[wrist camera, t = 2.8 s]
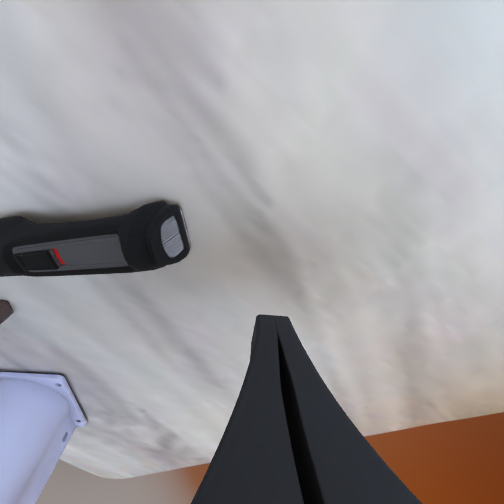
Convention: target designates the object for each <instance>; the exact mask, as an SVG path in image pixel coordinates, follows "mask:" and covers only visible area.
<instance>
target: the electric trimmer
mask: <svg viewBox="0 0 504 504" xmlns="http://www.w3.org/2000/svg"><path fill="white" fill-rule="evenodd" d="M181 211H182V209H180V207H179V206H177V205H168V204H167V203H166V202H164V201H160V202H155V203H149V204H146V205H144V206H142V207H140V208H138V209H136V210H135V211H133V212H131V213H129V214H126V215H123V216H116V217H110V218H103V219H95V220H87V221H78V222H69V223H53V224H36V223H34V222H31V221H29V220H27V219H25V218H22V217H18V216H14V217H8V218H2V219H0V277H2V276H22V275H24V276H36V277H38V276H67V275H89V274H112V273H132V272H140V271H148V270H155V269H158V268H161V267H164V266H166V265H170V264H174V263H177V262H179V261H181V260H182V259H184V258H185V257H186V256H187V255H188V254H189V251H190V244H189V243H190V241H189V237H188V235H187V234H188V233H187V228H185V224H184V223H185V221H184V219H183V214H182V212H181Z"/></svg>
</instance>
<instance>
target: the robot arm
mask: <svg viewBox="0 0 504 504" xmlns="http://www.w3.org/2000/svg"><path fill="white" fill-rule="evenodd" d="M86 424H87V421H86V419H85V417H84V415H83V413H82V411H81V409H80V407H79V405H78V403H77V401H76V399H75V397H74V395H73V393H72V391H71V389H70V387H69V385H68V383H67V382H66V380H65V378H64V377H63V376H61V375H52V374H33V373H13V372H0V504H35V503H36V501H37V500H38V498H39V496H40V495H41V493H42V491H43V489H44V487H45V485H46V483H47V481H48V479H49V477H50V475H51V473H52V472H53V470H54V468H55V466H56V464H57V462H58V460H59V458H60V456H61V455H62V453H63V451H64V449H65V447H66V445H67V443H68V441H69V439H70V437H71V435H72V433H73V432H74V430H75V428H76V427H85V426H86ZM191 504H422V503H421V502H420V501H419V500H418V499H417V498H416V496H415V495H414V494H412V492H411V491H410V490H409V489H408V488H407V487H406V486H405V485H404V483H403V482H402V481H401V480H400V479H399V478H398V477H397V476H396V475H395V473H394V472H393V471H392V470H391V469H390V468H389V467H388V466H387V465H386V463H385V462H384V461H383V460H382V458H381V457H380V456H379V455H378V454H377V452H376V451H375V450H374V449H373V448H372V446H371V445H370V444H369V443H368V442H367V440H366V439H365V438H364V437H363V436H362V434H361V433H360V432H359V430H358V429H357V428H356V427H355V425H354V424H353V423H352V421H351V420H350V419H349V417H348V416H347V415H346V413H345V412H344V411H343V409H342V408H341V406H340V405H339V404H338V402H337V401H336V399H335V398H334V397H333V395H332V394H331V392H330V391H329V389H328V388H327V386H326V384H325V383H324V381H323V380H322V378H321V377H320V375H319V373H318V372H317V370H316V369H315V367H314V365H313V363H312V362H311V360H310V358H309V356H308V355H307V353H306V351H305V349H304V347H303V346H302V344H301V342H300V340H299V338H298V336H297V334H296V332H295V330H294V328H293V326H292V323H291V321H290V319H289V318H288V317H286V316H273V315H258V316H256V322H255V327H254V332H253V337H252V342H251V356H250V363H249V366H248V370H247V373H246V376H245V379H244V382H243V385H242V388H241V391H240V394H239V397H238V399H237V402H236V405H235V407H234V410H233V412H232V415H231V417H230V420H229V422H228V425H227V427H226V430H225V432H224V434H223V437H222V439H221V441H220V443H219V446H218V448H217V450H216V452H215V454H214V457H213V459H212V461H211V463H210V465H209V468H208V470H207V472H206V474H205V476H204V478H203V481H202V482H201V484H200V486H199V489H198V490H197V492H196V494H195V496H194V499H193V500H192V503H191Z"/></svg>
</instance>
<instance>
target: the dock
mask: <svg viewBox="0 0 504 504" xmlns="http://www.w3.org/2000/svg"><path fill="white" fill-rule="evenodd" d="M12 313H13V311H12V309H11V308H10V306H9V304H8V302H7V301H0V324H1V323H2V322H4V321H5V320H6V319H7V318H8V317H9V316H10V315H11V314H12Z"/></svg>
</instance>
